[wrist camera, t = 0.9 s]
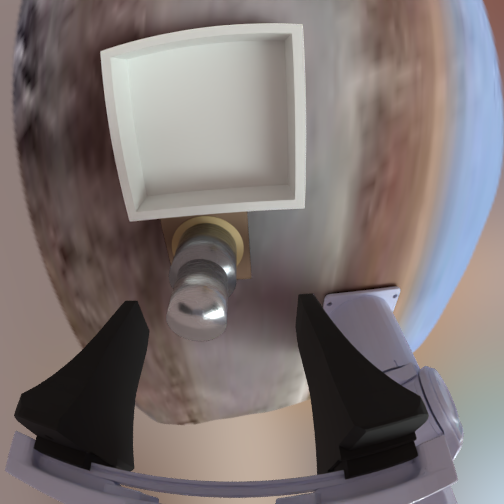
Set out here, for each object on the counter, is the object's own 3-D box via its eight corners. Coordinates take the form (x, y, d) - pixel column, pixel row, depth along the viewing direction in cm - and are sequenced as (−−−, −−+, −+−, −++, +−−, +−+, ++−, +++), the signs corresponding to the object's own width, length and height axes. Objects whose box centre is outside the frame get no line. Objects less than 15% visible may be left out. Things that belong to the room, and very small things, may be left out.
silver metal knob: (238, 270, 21) (239, 345, 16) (184, 273, 21) (168, 346, 16) (234, 220, 19) (232, 290, 13) (173, 225, 19) (147, 294, 13)
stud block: (250, 266, 23) (251, 279, 22) (178, 271, 23) (175, 283, 22) (246, 198, 20) (246, 207, 19) (163, 205, 20) (158, 215, 18)
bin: (295, 189, 20) (304, 208, 17) (143, 201, 20) (129, 221, 17) (292, 33, 13) (302, 24, 11) (121, 54, 13) (100, 51, 11)
